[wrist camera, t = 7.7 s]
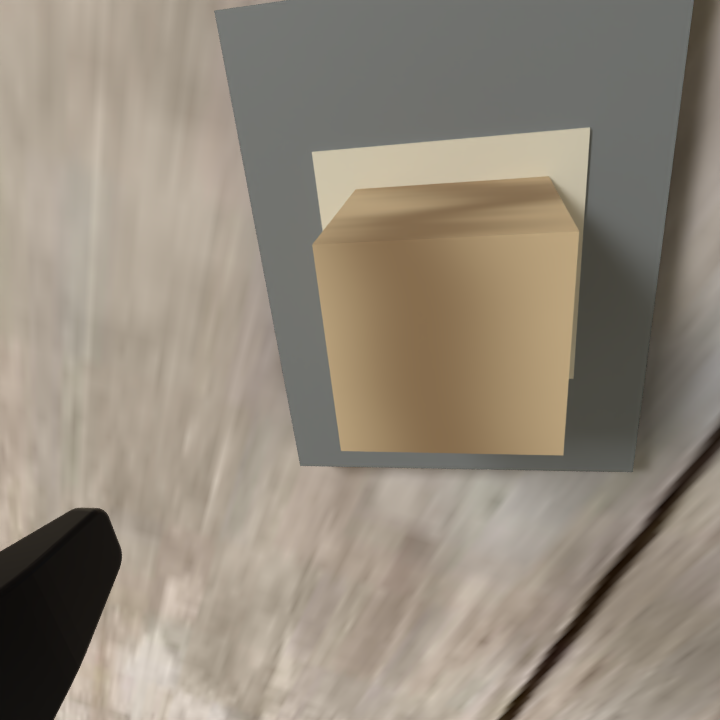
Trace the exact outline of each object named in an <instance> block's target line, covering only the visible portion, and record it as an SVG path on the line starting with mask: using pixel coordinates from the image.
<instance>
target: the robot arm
mask: <svg viewBox="0 0 720 720" xmlns="http://www.w3.org/2000/svg"><path fill="white" fill-rule="evenodd" d="M121 561H122V552H121V547H120V545H119V542H118V539H117V537H116V534H115V532H114V529H113V526H112V524H111V521H110V519H109V516H108V514H107V513H106V512H105V511H104V510H102V509H100V508H75V509H72V510H71V511H69V512H67V513H65V514H64V515H62V516H60V517H59V518H57V519H55V520H53V521H52V522H50V523H48V524H47V525H45V526H43V527H41V528H40V529H38V530H36V531H35V532H33V533H31V534H29V535H28V536H26V537H24V538H23V539H21V540H19V541H18V542H16V543H14V544H12V545H11V546H9V547H7V548H6V549H4V550H2V551H0V720H54V718H55V716H56V714H57V712H58V710H59V708H60V706H61V704H62V703H63V701H64V699H65V697H66V695H67V693H68V691H69V689H70V687H71V685H72V683H73V681H74V678H75V676H76V674H77V672H78V670H79V668H80V666H81V663H82V661H83V659H84V656H85V654H86V652H87V649H88V647H89V644H90V642H91V639H92V637H93V634H94V632H95V629H96V627H97V624H98V622H99V619H100V617H101V614H102V611H103V609H104V606H105V604H106V601H107V599H108V596H109V594H110V591H111V589H112V586H113V584H114V581H115V579H116V576H117V574H118V571H119V569H120V565H121Z"/></svg>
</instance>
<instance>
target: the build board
mask: <svg viewBox="0 0 720 720" xmlns="http://www.w3.org/2000/svg"><path fill="white" fill-rule="evenodd" d="M693 3H694V0H287V1H280V2H272V3H265V4H258V5H251V6H244V7H237V8H230V9H223V10H216V11H214V12H215V17H216V22H217V28H218V33H219V38H220V43H221V49H222V54H223V59H224V65H225V70H226V75H227V80H228V86H229V91H230V96H231V102H232V107H233V112H234V117H235V123H236V128H237V133H238V139H239V144H240V149H241V154H242V160H243V165H244V170H245V176H246V181H247V186H248V192H249V197H250V202H251V207H252V213H253V218H254V223H255V229H256V234H257V239H258V244H259V250H260V255H261V260H262V266H263V271H264V276H265V281H266V287H267V292H268V297H269V303H270V308H271V313H272V318H273V324H274V329H275V334H276V340H277V345H278V350H279V355H280V361H281V366H282V371H283V377H284V382H285V387H286V392H287V398H288V403H289V408H290V414H291V419H292V424H293V429H294V435H295V440H296V445H297V451H298V456H299V461H300V466H336V467H389V468H441V469H494V470H546V471H599V472H633V466H634V458H635V450H636V443H637V435H638V427H639V420H640V412H641V404H642V396H643V389H644V381H645V373H646V366H647V358H648V350H649V342H650V335H651V327H652V319H653V312H654V304H655V296H656V288H657V281H658V273H659V265H660V258H661V250H662V242H663V234H664V227H665V219H666V211H667V204H668V196H669V188H670V180H671V173H672V165H673V157H674V150H675V142H676V134H677V126H678V119H679V111H680V103H681V96H682V88H683V80H684V72H685V65H686V57H687V49H688V42H689V34H690V26H691V19H692V11H693ZM545 176H549V178H550V179H551V181H552V183H553V185H554V187H555V189H556V190H557V192H558V194H559V196H560V198H561V199H562V201H563V203H564V205H565V207H566V208H567V210H568V212H569V214H570V216H571V217H572V219H573V221H574V223H575V225H576V226H577V228H578V230H579V242H578V256H577V270H576V284H575V298H574V312H573V326H572V340H571V354H570V368H569V383H568V397H567V411H566V425H565V439H564V453H563V455H517V454H466V453H415V452H364V451H341V447H340V440H339V433H338V426H337V419H336V411H335V404H334V397H333V390H332V383H331V376H330V368H329V361H328V354H327V347H326V340H325V333H324V326H323V318H322V311H321V304H320V297H319V290H318V283H317V275H316V268H315V261H314V254H313V247H312V244H313V243H314V242H315V240H316V239H317V238H318V237H319V235H320V234H321V233H322V231H323V230H324V229H325V228H326V226H327V225H328V224H329V223H330V221H331V220H332V219H333V217H334V216H335V215H336V214H337V212H338V211H339V210H340V209H341V207H342V206H343V205H344V203H345V202H346V201H347V200H348V198H349V197H350V196H351V195H352V193H353V192H354V191H355V189H366V188H381V187H396V186H411V185H425V184H440V183H455V182H470V181H485V180H500V179H515V178H530V177H545Z"/></svg>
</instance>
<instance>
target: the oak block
mask: <svg viewBox="0 0 720 720" xmlns="http://www.w3.org/2000/svg"><path fill="white" fill-rule="evenodd" d="M578 242H579V230H578V228H577V226H576V225H575V223H574V221H573V219H572V217H571V216H570V214H569V212H568V210H567V208H566V207H565V205H564V203H563V201H562V199H561V198H560V196H559V194H558V192H557V190H556V189H555V187H554V185H553V183H552V181H551V179H550V178H549V176H545V177H530V178H515V179H500V180H485V181H470V182H455V183H440V184H425V185H411V186H396V187H381V188H366V189H355V191H354V192H353V193H352V195H351V196H350V197H349V198H348V200H347V201H346V202H345V203H344V205H343V206H342V207H341V209H340V210H339V211H338V212H337V214H336V215H335V216H334V217H333V219H332V220H331V221H330V223H329V224H328V225H327V226H326V228H325V229H324V230H323V231H322V233H321V234H320V235H319V237H318V238H317V239H316V240H315V242H314V243H313V244H312V247H313V254H314V261H315V268H316V275H317V283H318V290H319V297H320V304H321V311H322V318H323V326H324V333H325V340H326V347H327V354H328V361H329V368H330V376H331V383H332V390H333V397H334V404H335V411H336V419H337V426H338V433H339V440H340V447H341V451H364V452H415V453H466V454H517V455H563V453H564V439H565V425H566V411H567V397H568V383H569V368H570V354H571V340H572V326H573V312H574V298H575V284H576V270H577V256H578Z"/></svg>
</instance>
